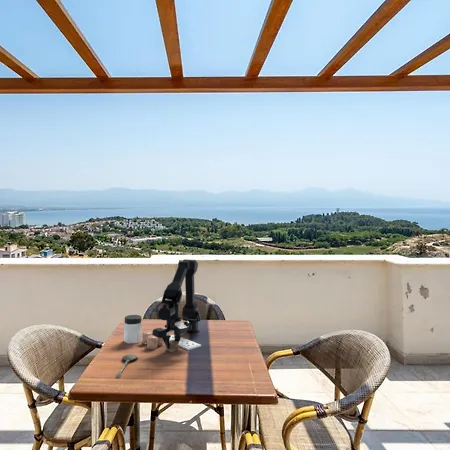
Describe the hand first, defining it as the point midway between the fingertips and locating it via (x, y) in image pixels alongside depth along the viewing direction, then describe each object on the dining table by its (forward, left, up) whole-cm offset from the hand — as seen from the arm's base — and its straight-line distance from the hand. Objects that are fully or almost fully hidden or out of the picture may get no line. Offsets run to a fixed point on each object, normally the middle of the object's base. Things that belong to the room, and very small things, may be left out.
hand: (172, 347), depth 176 cm
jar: (+7, -23, -1) cm, 24 cm away
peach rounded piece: (+3, -16, -1) cm, 16 cm away
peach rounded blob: (+5, -9, -1) cm, 10 cm away
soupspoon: (+25, +2, -2) cm, 26 cm away
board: (-9, -5, -1) cm, 10 cm away
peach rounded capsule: (0, -11, -1) cm, 11 cm away
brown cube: (0, 0, -1) cm, 1 cm away
